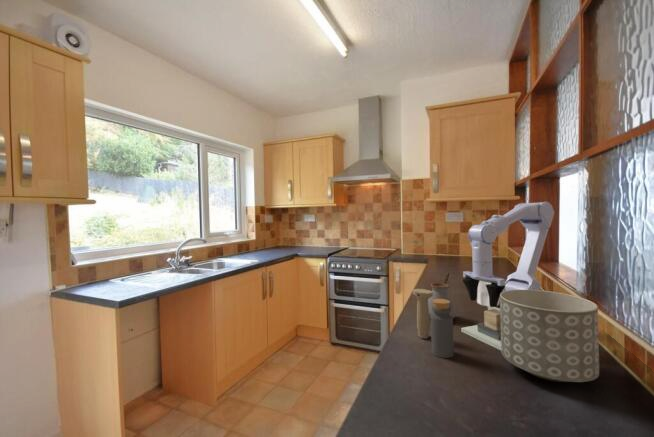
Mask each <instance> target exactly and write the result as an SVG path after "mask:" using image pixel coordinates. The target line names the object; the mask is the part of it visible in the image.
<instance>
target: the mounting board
mask: <svg viewBox="0 0 654 437" xmlns="http://www.w3.org/2000/svg"><path fill="white" fill-rule="evenodd" d="M492 309H495V310H498V311H500V307H490V306H487V310H492ZM460 329H461V330H460V331H461V333H464V334H466V335H468V336H470V337H471V338H474V339H475V340H478V341H480V342H481V343H482V342H483V343H484V344H486V345H488V346H491V347H493V348H495V349H497V350H499V351H501V340H499V341H498V340H496V339H494V338H491V337H489V336H487V335H485V334H482V333H480V332H478V328H477V324H474V325H471V326H465V327H461V328H460Z"/></svg>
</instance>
